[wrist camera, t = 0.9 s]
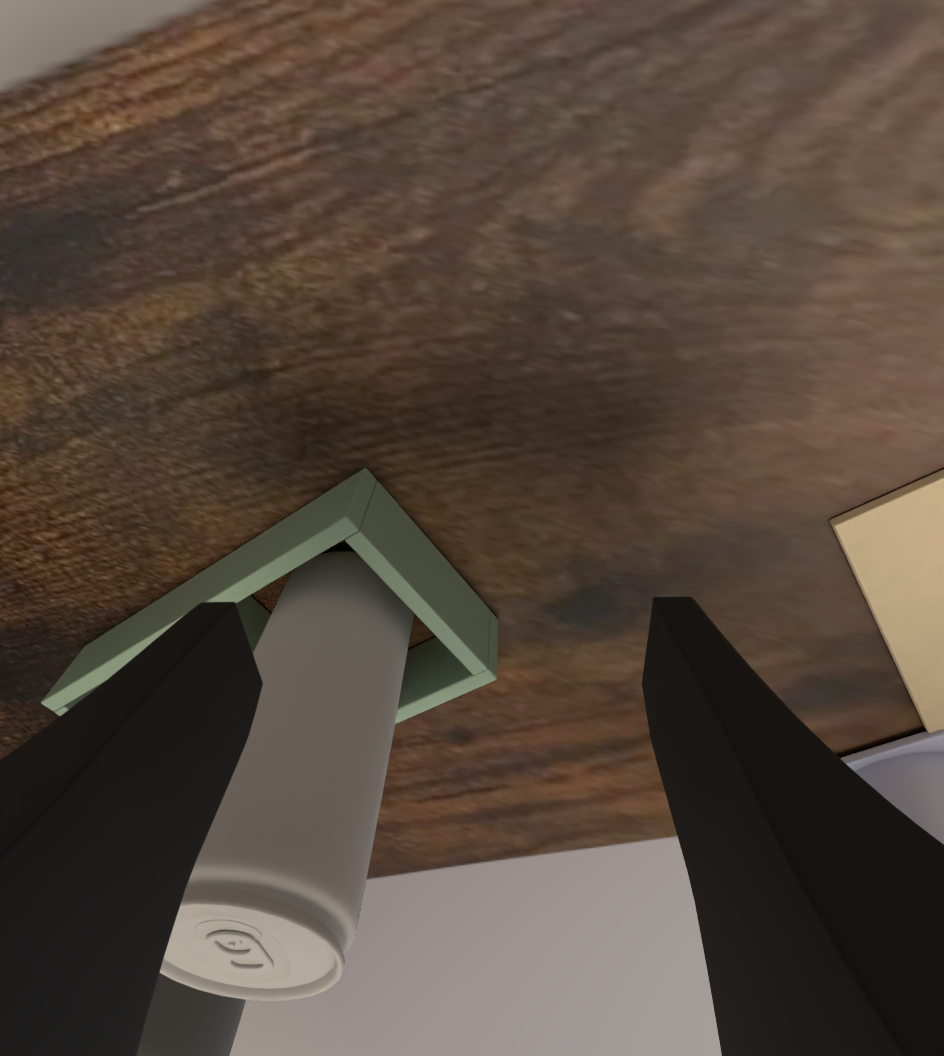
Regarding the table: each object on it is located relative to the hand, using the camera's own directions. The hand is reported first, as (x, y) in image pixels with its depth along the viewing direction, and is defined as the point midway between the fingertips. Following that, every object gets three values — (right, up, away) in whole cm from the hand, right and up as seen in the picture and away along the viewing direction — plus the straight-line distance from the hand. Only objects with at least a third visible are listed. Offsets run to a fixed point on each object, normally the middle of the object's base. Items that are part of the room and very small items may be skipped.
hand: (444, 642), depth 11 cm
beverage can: (-4, 0, +13) cm, 13 cm away
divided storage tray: (-7, -2, +14) cm, 15 cm away
